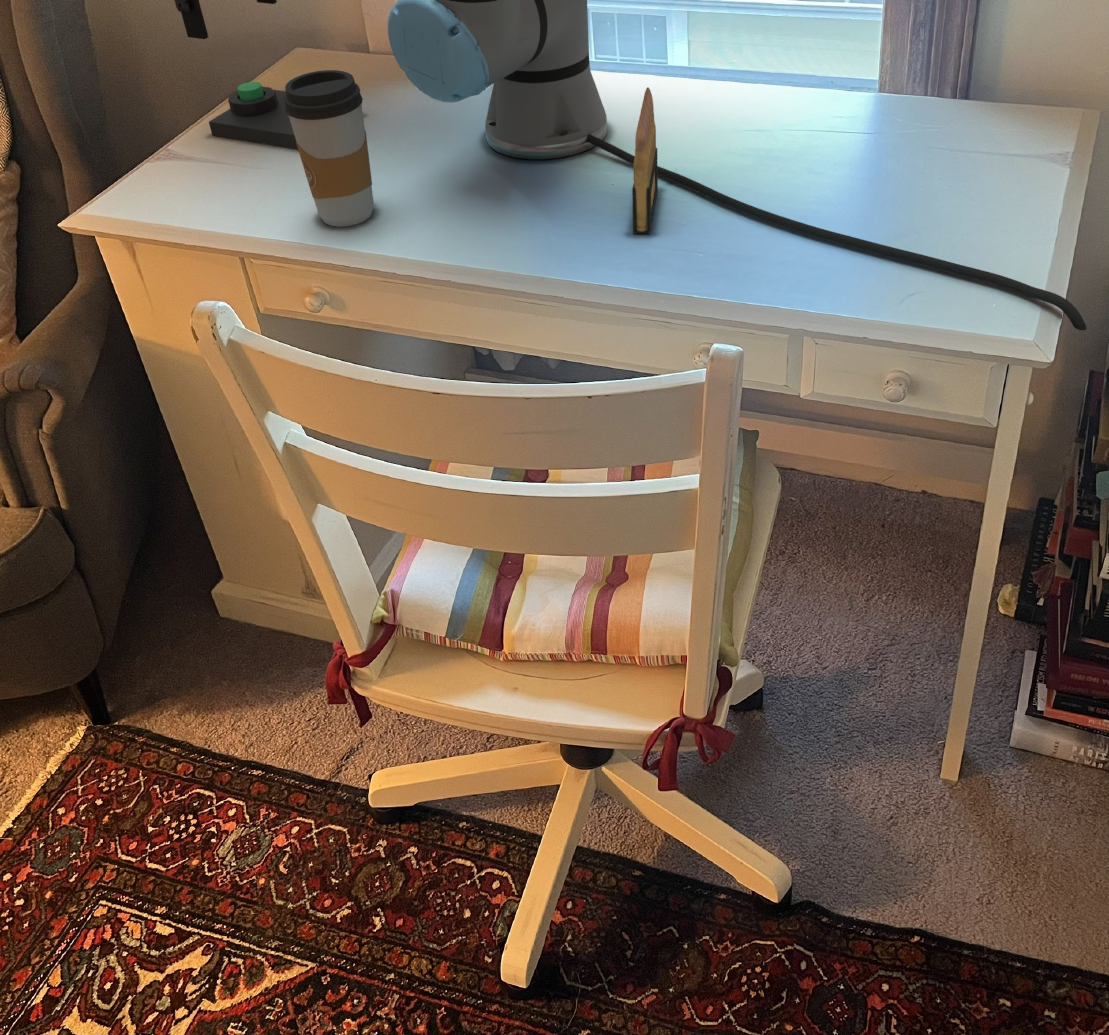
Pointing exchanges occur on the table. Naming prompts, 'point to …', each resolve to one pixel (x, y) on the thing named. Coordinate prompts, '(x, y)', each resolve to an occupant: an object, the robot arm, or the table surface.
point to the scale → (256, 120)
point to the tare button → (250, 91)
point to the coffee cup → (332, 144)
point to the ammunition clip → (645, 168)
